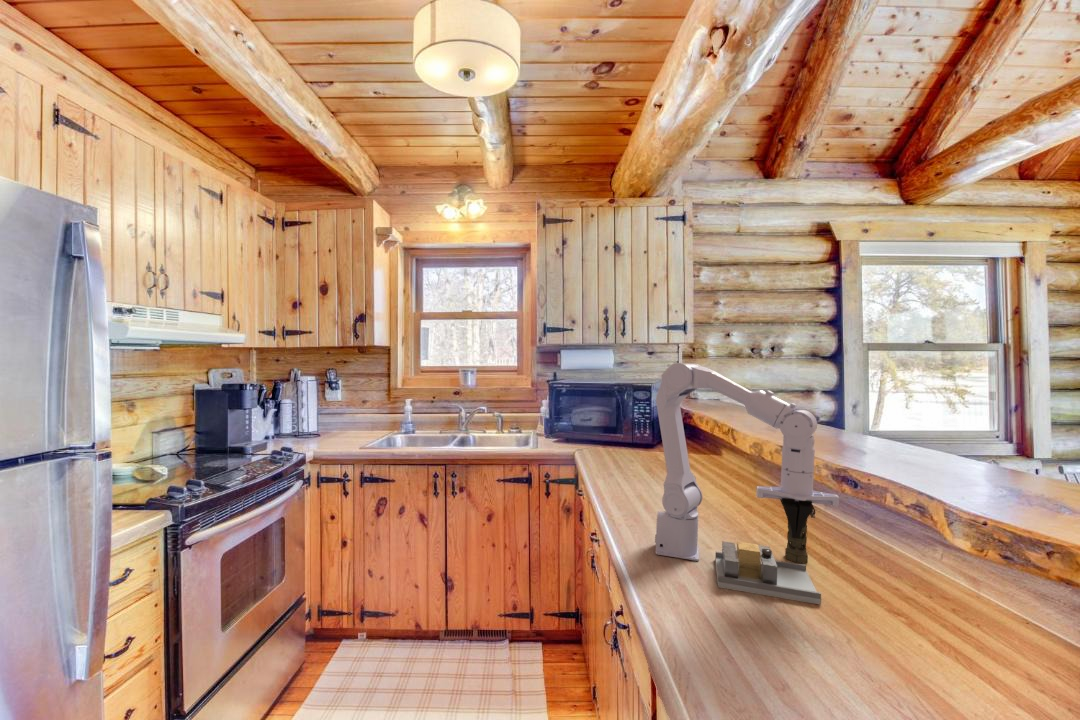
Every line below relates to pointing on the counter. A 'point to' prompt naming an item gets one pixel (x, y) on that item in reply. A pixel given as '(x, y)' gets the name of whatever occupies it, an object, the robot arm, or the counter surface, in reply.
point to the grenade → (798, 545)
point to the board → (789, 584)
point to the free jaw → (767, 566)
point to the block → (748, 560)
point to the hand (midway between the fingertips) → (794, 536)
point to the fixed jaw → (730, 560)
